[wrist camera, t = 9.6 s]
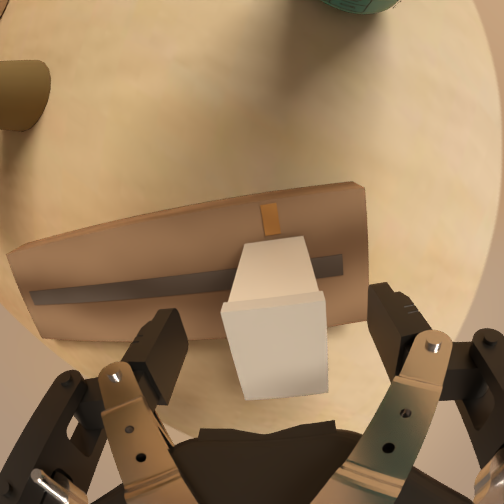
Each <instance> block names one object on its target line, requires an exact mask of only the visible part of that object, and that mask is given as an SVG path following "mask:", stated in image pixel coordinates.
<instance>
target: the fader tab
mask: <svg viewBox="0 0 504 504" xmlns="http://www.w3.org/2000/svg"><path fill="white" fill-rule="evenodd" d="M220 313H221V317H222V320H223V324H224V328H225V331H226V335H227V339H228V342H229V346H230V350H231V353H232V357H233V360H234V364H235V367H236V371H237V374H238V378H239V381H240V384H241V388H242V391H243V394H244V398H245V400H261V399H275V398H287V397H297V396H306V395H314V394H321V393H328V346H327V321H326V302H325V297H324V294H323V291H319V289H318V286H317V282H316V278H315V275H314V271H313V268H312V264H311V261H310V257H309V254H308V250H307V247H306V243H305V240H304V237H303V236H298V237H290V238H283V239H276V240H268V241H261V242H254V243H247V244H244V248H243V251H242V255H241V258H240V262H239V265H238V269H237V272H236V276H235V279H234V283H233V286H232V289H231V293H230V296H229V300H228V302H224V303H223V306H222V309H221V312H220Z"/></svg>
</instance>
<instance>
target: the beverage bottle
mask: <svg viewBox="0 0 504 504" xmlns="http://www.w3.org/2000/svg"><path fill="white" fill-rule="evenodd" d="M321 1H323V2H324V3H326V4H328V5H330V6H332V7H334V8H337V9H340V10H343V11H346V12H350V13H355V14H374V13H378V12H381V11H384V10H387V9H389V8H390V7H392V6H393V5H394V4H396V2H397V1H398V0H321ZM400 2H401V1H400ZM395 6H396V5H395ZM395 6H394V7H393V8H395Z"/></svg>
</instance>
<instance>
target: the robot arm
mask: <svg viewBox="0 0 504 504" xmlns="http://www.w3.org/2000/svg"><path fill="white" fill-rule="evenodd" d="M7 2H8V0H0V16H1V14H2V12H3V10H4V9H5V6H6V4H7ZM367 323H368V328H369V332H370V334H371V336H372V338H373V341H374V343H375V345H376V348H377V350H378V352H379V355H380V357H381V360H382V362H383V364H384V367H385V369H386V372H387V374H388V377H389V379H390V382H391V385H390V387H389V389H388V391H387V393H386V395H385V397H384V399H383V401H382V402H381V404H380V406H379V408H378V410H377V412H376V413H375V415H374V417H373V419H372V420H371V422H370V424H369V425H368V427H367V429H366V430H365V432H364V434H363V435H362V434H360V433H357V432H353V431H349V430H342V429H336V426H335V420H332V421H326V422H319V423H311V424H302V425H298V426H295V427H292V428H288V429H285V430H281V431H278V432H274V433H271V434H257V433H251V432H246V431H240V430H235V429H204V428H200V432H199V436H198V438H193V439H189V440H186V441H184V442H181V443H179V444H177V445H174V444H173V442H172V440H171V438H170V437H169V435H168V433H167V431H166V429H165V427H164V425H163V424H162V422H161V420H160V418H159V416H158V414H157V412H156V411H155V408H156V406H157V405H168V403H169V400H170V398H171V395H172V392H173V389H174V386H175V384H176V381H177V378H178V375H179V373H180V370H181V367H182V365H183V362H184V359H185V356H186V354H187V351H188V338H187V335H186V332H185V329H184V326H183V323H182V320H181V317H180V314H179V312H178V310H177V309H176V308H168V309H159V310H158V311H157V313H156V314H155V316H154V318H153V319H152V321H149V322H147V323H146V324H145V325H144V326H143V327H141V329H140V330H139V332H138V334H137V337H135V339H134V340H133V343H131V345H130V347H129V348H128V350H127V352H126V353H125V355H124V357H123V358H122V360H121V361H120V362H114V363H111V364H109V365H107V366H106V367H104V368H103V369H102V370H101V372H100V373H99V376H98V377H97V378H91V379H85V380H84V378H83V377H82V375H81V374H80V372H79V371H77V370H69V371H66V372H64V373H62V374H60V375H59V376H58V377H57V378H56V379H55V381H54V382H53V384H52V385H51V387H50V388H49V390H48V391H47V393H46V394H45V396H44V398H43V399H42V401H41V402H40V404H39V406H38V407H37V409H36V410H35V412H34V413H33V415H32V417H31V418H30V420H29V422H28V423H27V425H26V427H25V429H24V430H23V432H22V434H21V435H20V437H19V439H18V441H17V443H16V444H15V446H14V448H13V450H12V452H11V453H10V455H9V457H8V459H7V461H6V463H5V465H4V467H3V469H2V471H1V473H0V504H88V498H87V491H88V489H89V486H90V483H91V480H92V477H93V475H94V472H95V469H96V466H97V464H98V461H99V458H100V456H101V453H102V451H103V448H104V445H105V443H106V440H107V438H108V441H109V444H110V448H111V451H112V454H113V457H114V460H115V463H116V465H117V469H118V471H119V474H120V477H121V479H122V482H123V483H122V484H120V485H119V486H117V487H116V488H114V489H113V490H111V491H110V492H108V493H107V494H105V495H103V496H102V497H100V498H99V499H97V500H96V501H94V502H92V503H91V504H504V336H503V334H501V333H500V332H499V331H496V330H494V329H489V328H485V329H480V330H478V331H477V332H476V333H475V334H474V336H473V339H472V342H452V340H451V338H450V337H449V336H448V335H447V334H445V333H444V332H441V331H438V330H432V328H431V327H430V326H429V324H428V323H427V321H426V320H425V319H424V317H423V316H422V314H421V313H420V312H418V309H417V308H416V306H414V303H413V302H412V301H411V299H410V298H409V297H408V296H406V295H404V294H403V293H401V292H395V293H394V291H393V290H392V289H391V287H390V286H389V284H388V283H387V282H383V283H377V284H371V285H369V286H368V305H367ZM447 400H455V403H456V405H457V407H458V409H459V412H460V414H461V416H462V419H463V422H464V424H465V427H466V429H467V431H468V434H469V437H470V439H471V442H472V445H473V448H474V450H475V453H476V456H477V459H478V462H479V465H480V468H481V471H480V472H479V474H478V475H477V477H476V479H475V484H474V489H475V497H474V500H473V502H472V501H471V500H470V499H468V498H467V497H465V496H464V495H462V494H460V493H458V492H456V491H454V490H453V489H451V488H449V487H448V486H446V485H444V484H442V483H441V482H439V481H437V480H435V479H434V478H432V477H430V476H429V475H427V474H425V473H424V472H422V471H420V470H419V469H417V468H415V467H414V466H413V464H414V462H415V459H416V458H417V455H418V453H419V451H420V449H421V446H422V444H423V442H424V439H425V437H426V434H427V432H428V429H429V426H430V424H431V421H432V418H433V416H434V413H435V410H436V407H437V404H438V401H447ZM73 415H74V417H75V418H76V419H77V420H78V422H79V423H78V425H77V427H76V429H75V431H74V433H73V435H72V437H71V439H70V440H69V439H68V437H67V433H66V430H67V427H68V425H69V423H70V420H71V419H72V417H73Z"/></svg>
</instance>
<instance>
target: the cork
mask: <svg viewBox="0 0 504 504" xmlns="http://www.w3.org/2000/svg"><path fill="white" fill-rule="evenodd" d="M50 84H51V77H50V73H49V69H48V67H47V66H46V64H45V63H44V62H41V61H39V60H17V61H0V129H1V130H12V131H25V130H28V129H30V128H31V127H32V126H33V125H34V124H35V123H36V122H37V121H38V119H39V118H40V116H41V115H42V113H43V111H44V109H45V106H46V104H47V101H48V97H49V93H50Z"/></svg>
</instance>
